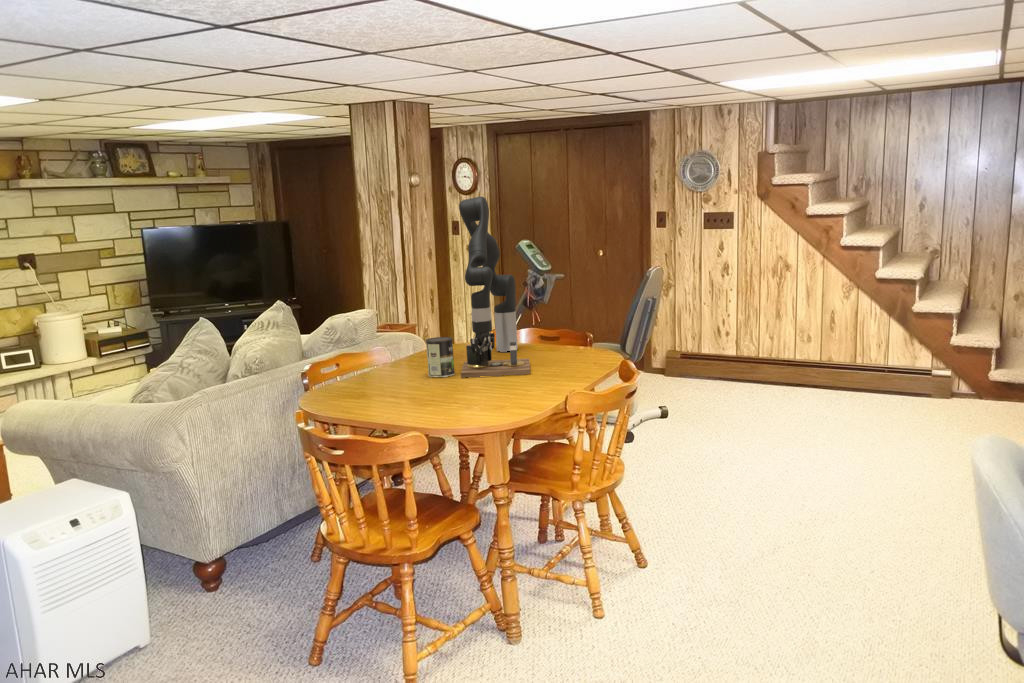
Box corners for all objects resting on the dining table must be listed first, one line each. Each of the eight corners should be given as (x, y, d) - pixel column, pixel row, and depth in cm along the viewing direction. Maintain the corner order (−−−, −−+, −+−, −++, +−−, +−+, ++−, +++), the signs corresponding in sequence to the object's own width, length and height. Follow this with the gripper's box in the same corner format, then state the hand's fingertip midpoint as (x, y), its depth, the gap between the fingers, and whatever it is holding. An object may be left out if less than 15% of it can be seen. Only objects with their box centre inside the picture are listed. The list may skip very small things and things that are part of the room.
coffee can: (455, 371, 317) (453, 336, 315) (454, 377, 307) (451, 340, 305) (429, 373, 317) (426, 337, 315) (426, 378, 307) (424, 342, 305)
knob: (503, 362, 319) (502, 342, 317) (524, 361, 319) (523, 341, 317) (503, 367, 310) (502, 346, 308) (524, 366, 310) (523, 345, 308)
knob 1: (462, 367, 315) (461, 346, 313) (476, 363, 320) (475, 343, 319) (479, 369, 308) (478, 348, 307) (493, 365, 314) (492, 345, 313)
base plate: (464, 366, 326) (464, 359, 325) (529, 363, 325) (528, 355, 325) (461, 378, 304) (460, 370, 303) (530, 374, 304) (530, 366, 303)
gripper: (483, 316, 318) (485, 358, 321) (463, 322, 306) (465, 365, 308) (499, 316, 314) (502, 359, 317) (479, 322, 302) (482, 366, 305)
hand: (484, 362), depth 313 cm, fingers open, 6 cm apart
